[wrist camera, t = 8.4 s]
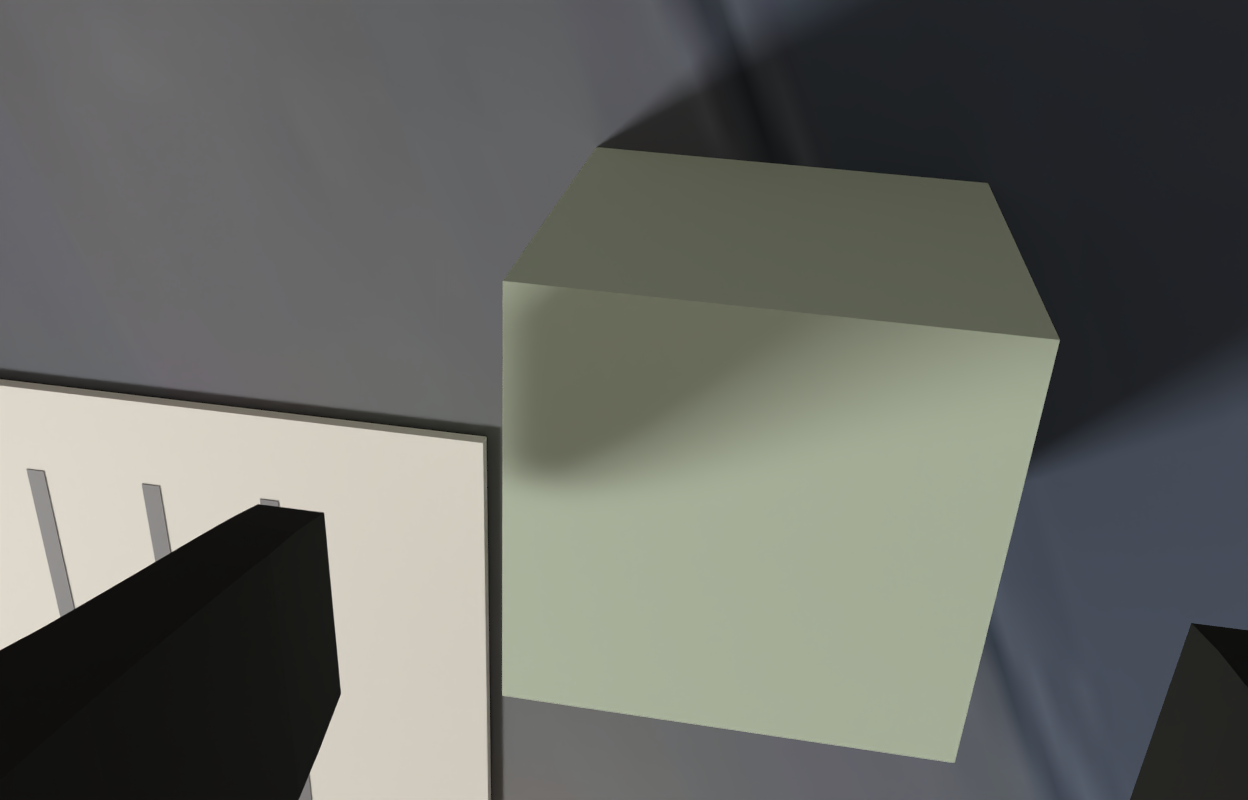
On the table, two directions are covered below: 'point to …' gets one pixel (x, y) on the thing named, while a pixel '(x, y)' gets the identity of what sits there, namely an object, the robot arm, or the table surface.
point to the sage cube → (765, 446)
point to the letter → (292, 478)
